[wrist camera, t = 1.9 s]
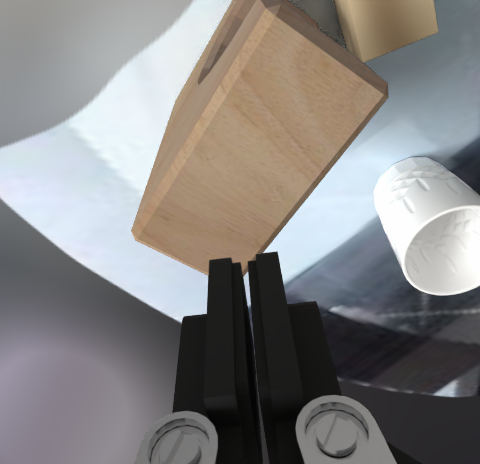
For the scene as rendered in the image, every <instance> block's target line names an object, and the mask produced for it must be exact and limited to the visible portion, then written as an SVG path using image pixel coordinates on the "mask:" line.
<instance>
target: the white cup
mask: <svg viewBox="0 0 480 464" xmlns="http://www.w3.org/2000/svg"><path fill="white" fill-rule="evenodd" d="M374 203H375V208H376V210H377V212H378V214H379V216H380V219H381V222H382V226H383V228H384V230H385V232H386V235H387V238H388V240H389V242H390V244H391V246H392V249H393V251H394V253H395V255H396V257H397V259H398V262H399V264H400V266H401V268H402V270H403V273H404V275H405V277H406V278H407V280H408V281H409V282H410V283H411V284H412V285H413V286H414V287H415V288H417V289H419V290H420V291H423V292H425V293H429V294H433V295H453V294H459V293H463V292H466V291H469V290H471V289H474V288H476V287H478V286H480V195H479V194H478V193H477V192H476V191H474V190H473V189H472V188H471V187H470V186H469V185H467V184H466V183H465V182H463V181H462V180H461V179H460V178H458V177H457V176H456V175H454V174H453V173H452V172H450V171H448V170H447V169H446V168H445V167H444V166H443V165H442V164H440V163H438V162H436V161H434V160H432V159H430V158H428V157H409V158H407V159H404V160H402V161H400V162H397V163H395V164H393V165H392V166H391V167H390V168H389V169H388V170H387V171H385V172H384V173H383V174H382V175H381V176H380V178H379V180H378V183H377V185H376V187H375V190H374Z"/></svg>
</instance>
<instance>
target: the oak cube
mask: <svg viewBox="0 0 480 464" xmlns="http://www.w3.org/2000/svg"><path fill="white" fill-rule="evenodd" d="M334 2H335V6H336V10H337V14H338V18H339V21H340V25H341V29H342V33H343V37H344V41H345V44H346V48H347V50H349V51H350V52H351V53H352V54H353V55H354V56H356V57H357V58H358V59H360V60H361V61H362V62H363V63H364V62H367V61H369V60H372V59H374V58H377V57H379V56H381V55H384V54H386V53H389V52H391V51H394V50H396V49H399V48H401V47H403V46H406V45H408V44H411V43H413V42H416V41H418V40H421V39H423V38H425V37H428V36H430V35H433V34H435V33H438V26H437V20H436V13H435V7H434V0H334Z"/></svg>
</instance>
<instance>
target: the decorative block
mask: <svg viewBox="0 0 480 464" xmlns="http://www.w3.org/2000/svg"><path fill="white" fill-rule="evenodd" d="M387 98H388V83H386V82H385V81H384V80H383V79H382V78H381V77H379V76H378V75H377V74H376V73H375V72H374V71H372V70H371V69H370V68H369V67H368V66H367V65H365V64H364V63H363V62H362V61H361V60H360V59H358V58H357V57H355V56H354V55H353V54H351V53H350V52H349V51H347V50H346V49H345V48H343V47H342V46H341V45H339V44H338V43H337V42H335V41H334V40H333V39H331V38H330V37H329V36H327V35H326V34H324V33H323V32H322V31H320V30H319V29H318V23H316V22H315V21H314V20H313V19H312V18H310V17H309V16H308V15H307V14H305V13H304V12H303V11H301V10H300V9H299V8H297V7H296V6H295V5H293V4H292V3H291V2H289V1H288V0H232V2H231V4H230V6H229V7H228V9H227V11H226V13H225V15H224V16H223V18H222V20H221V22H220V23H219V25H218V27H217V29H216V30H215V32H214V34H213V36H212V37H211V39H210V41H209V43H208V45H207V46H206V48H205V50H204V52H203V53H202V55H201V57H200V59H199V60H198V62H197V64H196V66H195V68H194V69H193V71H192V73H191V75H190V76H189V78H188V80H187V82H186V83H185V85H184V87H183V89H182V91H181V92H180V94H179V96H178V98H177V99H176V101H175V104H174V107H173V110H172V113H171V116H170V118H169V121H168V124H167V127H166V130H165V133H164V136H163V139H162V142H161V145H160V148H159V151H158V154H157V157H156V159H155V162H154V165H153V168H152V171H151V174H150V177H149V180H148V183H147V186H146V189H145V192H144V195H143V198H142V200H141V203H140V206H139V209H138V212H137V215H136V218H135V221H134V224H133V227H132V230H131V231H132V234H133V236H134V239H135V240H136V241H138V242H140V243H142V244H144V245H146V246H148V247H150V248H152V249H154V250H156V251H158V252H161V253H163V254H165V255H167V256H169V257H171V258H173V259H175V260H177V261H179V262H181V263H183V264H185V265H187V266H189V267H191V268H194V269H196V270H198V271H200V272H202V273H204V274H206V275H209V260H212V259H221V258H229V257H231V258H232V262H233V263H236V262H241V266H242V273H243V277H244V275H245V274H246V273H247V272H248V261H253V260H256V254H262V253H263V252H264V251H265V250H266V248H267V247H268V246H269V245H270V243H271V242H272V241H273V240H274V238H275V237H276V236H277V235H278V233H279V232H280V231H281V230H282V229H283V227H284V226H285V225H286V224H287V222H288V221H289V220H290V219H291V217H292V216H293V215H294V214H295V213H296V211H297V210H298V209H299V208H300V206H301V205H302V204H303V203H304V201H305V200H306V199H307V198H308V197H309V195H310V194H311V193H312V192H313V190H314V189H315V188H316V187H317V185H318V184H319V183H320V182H321V180H322V179H323V178H324V177H325V175H326V174H327V173H328V172H329V170H330V169H331V168H332V167H333V165H334V164H335V163H336V162H337V160H338V159H339V158H340V157H341V156H342V154H343V153H344V152H345V151H346V149H347V148H348V147H349V146H350V144H351V143H352V142H353V141H354V139H355V138H356V137H357V136H358V134H359V133H360V132H361V131H362V129H363V128H364V127H365V126H366V124H367V123H368V122H369V121H370V119H371V118H372V117H373V116H374V114H375V113H376V112H377V111H378V110H379V108H380V107H381V106H382V105H383V103H384V102H385V101H386V100H387Z"/></svg>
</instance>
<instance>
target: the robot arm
mask: <svg viewBox="0 0 480 464" xmlns="http://www.w3.org/2000/svg"><path fill="white" fill-rule="evenodd" d="M248 273H249V286H250V298H251V310H252V322H253V335H254V346H253V338H252V332H251V325H250V319H249V312H248V305H247V299H246V292H245V286H244V279H243V273H242V266H241V262H236V263H233V262H232V258H231V257H229V258H221V259H212V260H209V275H208V299H207V314H202V315H193V316H185V317H184V318H183V320H182V328H181V337H180V347H179V356H178V365H177V374H176V384H175V394H174V403H173V412H172V414H170V415H167V416H165V417H163V418H162V419H160V420H159V421H157V422H156V423H155V424H153V426H152V427H151V428H150V429H149V430H148V432H147V433H146V434H145V436H144V438H143V441H142V443H141V445H140V448H139V451H138V454H137V457H136V460H135V464H263V456H262V444H261V431H260V418H259V406H258V393H257V383H258V392H259V399H260V406H261V412H262V419H263V425H264V431H265V438H266V444H267V450H268V456H269V463H270V464H421V463H420V462H418V461H416V460H415V459H413V458H411V457H410V456H409V455H407V454H405V453H404V452H402V451H401V450H399V449H397V448H396V447H394V446H393V445H391V444H389V443H388V442H386V441H385V439H384V437H383V435H382V433H381V431H380V429H379V428H378V425H377V423H376V422H375V419H374V418H373V417H372V415H371V414H370V412H369V411H368V410H367V409H366V408H365V407H363V406H362V405H361V404H360V403H358V402H357V401H355V400H352V399H350V398H348V397H344V396H342V395H341V391H340V387H339V383H338V380H337V376H336V372H335V368H334V365H333V361H332V357H331V353H330V350H329V346H328V342H327V338H326V335H325V331H324V327H323V323H322V320H321V316H320V312H319V309H318V305H317V303H316V301H313V302H304V303H296V304H287V301H286V296H285V290H284V285H283V279H282V274H281V268H280V263H279V258H278V252H270V253H262V254H256V260H253V261H248ZM254 347H255V356H254ZM255 359H256V369H255ZM256 371H257V382H256Z"/></svg>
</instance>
